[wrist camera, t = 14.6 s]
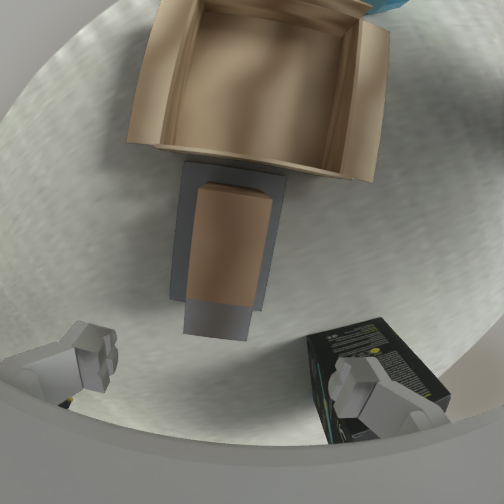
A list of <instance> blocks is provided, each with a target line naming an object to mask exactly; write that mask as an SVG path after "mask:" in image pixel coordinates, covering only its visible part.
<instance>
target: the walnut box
mask: <svg viewBox="0 0 504 504" xmlns="http://www.w3.org/2000/svg"><path fill="white" fill-rule="evenodd" d="M272 201H273V200H272V199H271V198H270V197H269V196H268V195H266V194H265V193H264V192H263V191H261V190H260V189H256V188H250V187H243V186H237V185H230V184H223V183H216V182H209V181H208V182H207V183H205V184H204V185H203V186H201V187H200V188H199V189H198V196H197V203H196V211H195V218H194V226H193V235H192V243H191V252H190V261H189V271H188V281H187V292H186V304H185V317H184V330H183V334H189V335H196V336H204V337H211V338H220V339H228V340H237V341H247V336H248V331H249V326H250V321H251V315H252V310H253V305H254V299H255V294H256V289H257V283H258V278H259V273H260V267H261V262H262V256H263V251H264V246H265V240H266V235H267V229H268V224H269V218H270V213H271V207H272Z"/></svg>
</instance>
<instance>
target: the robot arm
mask: <svg viewBox="0 0 504 504" xmlns="http://www.w3.org/2000/svg"><path fill="white" fill-rule="evenodd" d="M116 341H117V336H116V331H115V330H114V329H109V328H105V327H102V326H98V325H94V324H90V323H86V322H82V321H77V322H76V323H75V324H74V325H73V326H72V327H71V328H70V330H69V331H68V332H67V333H66V334H65V335H64V337H63V338H62V339H61V340H60V341H59V343H57V342H53V343H50V344H47V345H44V346H41V347H38V348H35V349H32V350H29V351H26V352H23V353H21V354H18V355H15V356H12V357H8V358H5V359H4V361H3V362H2V363H1V364H0V504H504V405H503V406H500V407H498V408H495V409H493V410H490V411H487V412H484V413H482V414H479V415H476V416H473V417H470V418H467V419H463V420H460V421H457V422H454V423H451V422H450V420H449V419H448V418H447V416H446V415H445V413H444V412H443V410H442V409H441V407H440V406H438V405H437V404H435V403H433V402H431V401H429V400H428V399H426V398H424V397H422V396H420V395H419V394H417V393H415V392H413V391H412V390H410V389H408V388H406V387H405V386H403V385H401V384H399V383H398V382H396V381H392V380H391V379H390V377H389V376H388V374H387V373H386V371H385V370H384V368H383V367H382V365H381V364H380V362H379V361H378V359H377V358H375V357H339V359H338V360H337V362H336V364H335V367H336V370H337V371H335V372H334V373H333V374H332V375H331V377H330V380H329V385H328V391H329V395H330V398H331V399H333V400H334V401H335V404H334V409H335V411H336V414H337V416H338V418H356V417H359V418H358V419H359V420H361V421H362V422H363V423H364V424H365V425H366V426H367V427H368V428H370V429H371V430H372V431H373V432H374V433H375V434H376V435H377V436H379V437H380V438H381V439H374V440H367V441H359V442H351V443H341V444H328V445H309V446H258V445H239V444H226V443H215V442H206V441H198V440H190V439H183V438H177V437H171V436H165V435H160V434H155V433H150V432H145V431H140V430H136V429H132V428H127V427H123V426H119V425H116V424H112V423H108V422H105V421H101V420H98V419H94V418H91V417H88V416H85V415H82V414H79V413H76V412H73V411H70V410H67V409H64V408H62V407H59V406H57V405H59V404H60V403H62V402H63V401H65V400H67V399H68V398H70V397H71V396H73V395H75V394H76V393H78V392H79V391H81V390H82V389H83V388H85V389H89V390H92V391H96V392H100V393H105V391H106V389H107V387H108V385H109V383H110V378H109V376H110V375H112V374H114V372H115V370H116V368H117V363H118V349H117V348H116V347H115V345H114V344H115V342H116Z"/></svg>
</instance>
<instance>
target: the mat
mask: <svg viewBox="0 0 504 504" xmlns="http://www.w3.org/2000/svg"><path fill="white" fill-rule="evenodd" d="M286 180H287V177H285V176H280V175H274V174H269V173H263V172H257V171H251V170H245V169H238V168H232V167H225V166H218V165H210V164H203V163H195V162H187V161H184V166H183V173H182V180H181V187H180V195H179V203H178V211H177V220H176V229H175V239H174V249H173V260H172V272H171V286H170V299H171V300H178V301H184V302H186V292H187V281H188V271H189V261H190V252H191V243H192V235H193V226H194V218H195V211H196V203H197V196H198V189H199V188H200V187H201V186H203V185H204V184H205V183H207V182H208V181H209V182H216V183H223V184H230V185H237V186H243V187H250V188H256V189H260V190H261V191H263V192H264V193H265V194H266V195H268V196H269V197H270V198H271V199H272V200H273V201H272V207H271V213H270V218H269V224H268V229H267V235H266V240H265V246H264V251H263V256H262V262H261V267H260V273H259V278H258V283H257V289H256V294H255V299H254V305H253V310H254V311H262V306H263V301H264V296H265V291H266V286H267V281H268V276H269V271H270V265H271V260H272V255H273V250H274V245H275V239H276V234H277V229H278V224H279V218H280V213H281V207H282V202H283V197H284V191H285V186H286Z"/></svg>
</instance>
